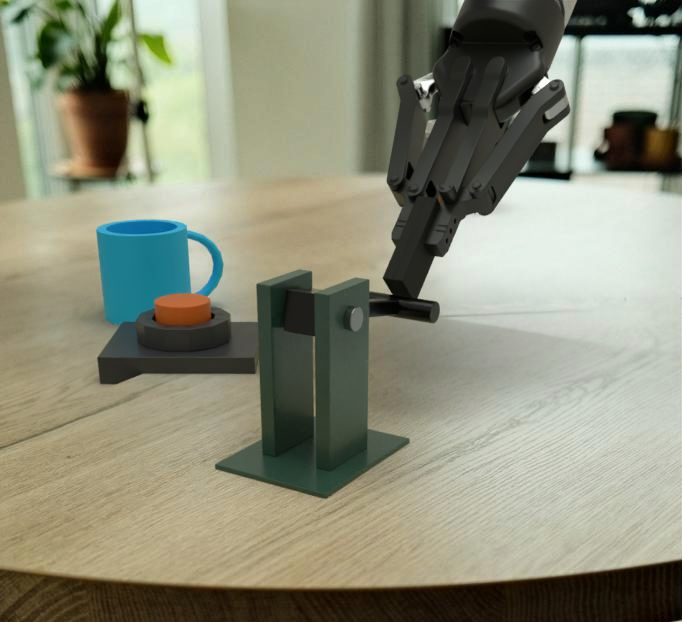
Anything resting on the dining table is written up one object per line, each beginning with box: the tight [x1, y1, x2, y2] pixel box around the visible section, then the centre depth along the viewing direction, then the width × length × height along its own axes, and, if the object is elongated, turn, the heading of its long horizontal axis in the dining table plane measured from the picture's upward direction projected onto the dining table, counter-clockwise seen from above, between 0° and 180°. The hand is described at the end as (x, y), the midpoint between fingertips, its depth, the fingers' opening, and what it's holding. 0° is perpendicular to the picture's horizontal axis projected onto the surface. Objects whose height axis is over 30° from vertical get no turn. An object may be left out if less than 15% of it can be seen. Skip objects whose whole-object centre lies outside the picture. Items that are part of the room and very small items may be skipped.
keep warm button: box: [154, 292, 212, 325], centre depth 81 cm, size 4×4×2 cm
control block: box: [96, 306, 259, 385], centre depth 82 cm, size 12×10×4 cm
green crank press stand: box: [214, 268, 410, 499], centre depth 61 cm, size 10×8×12 cm
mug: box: [95, 218, 224, 326], centre depth 95 cm, size 12×8×8 cm
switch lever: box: [284, 287, 441, 338], centre depth 63 cm, size 12×6×2 cm, turn 148°
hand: (399, 290), depth 68 cm, fingers closed
